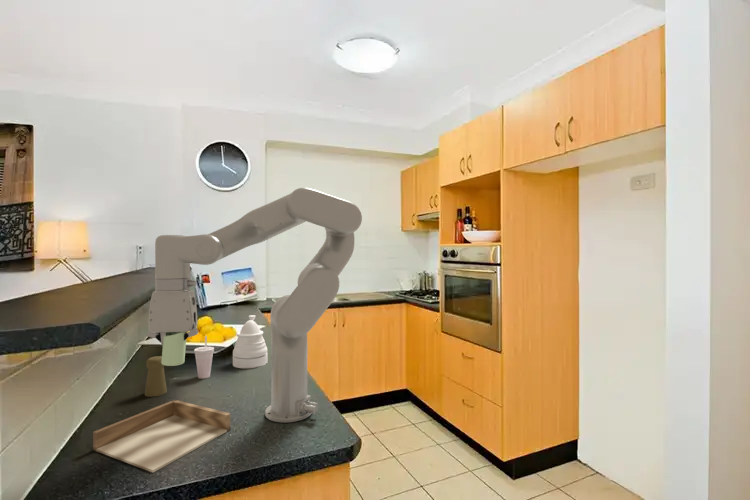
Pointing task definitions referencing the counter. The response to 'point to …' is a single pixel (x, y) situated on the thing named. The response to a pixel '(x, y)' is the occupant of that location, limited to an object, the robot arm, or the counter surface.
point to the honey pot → (250, 346)
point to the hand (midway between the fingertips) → (173, 360)
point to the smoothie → (204, 360)
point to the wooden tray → (161, 434)
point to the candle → (173, 349)
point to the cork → (155, 377)
